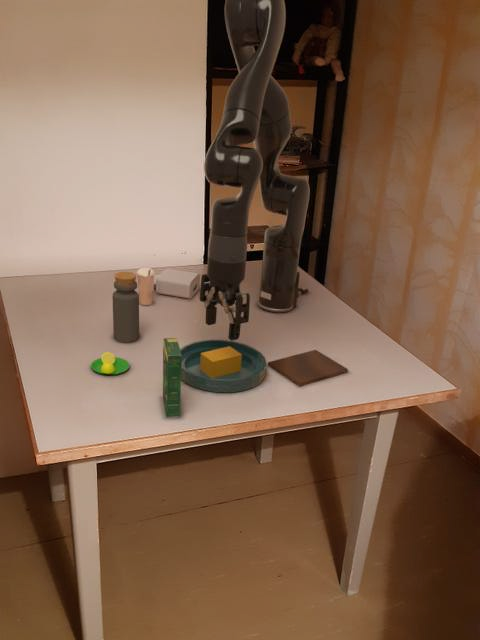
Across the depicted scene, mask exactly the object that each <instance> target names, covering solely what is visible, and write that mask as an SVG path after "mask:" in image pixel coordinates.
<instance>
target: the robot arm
mask: <svg viewBox="0 0 480 640" xmlns="http://www.w3.org/2000/svg"><path fill="white" fill-rule="evenodd" d="M286 14H287V12H286V2H285V0H225V3H224V21H225V28H226V32H227V37H228V40H229V44H230V47H231V51H232V54H233V57H234V61H235V64H236V67H237V71H238V74H237V75H236V76H235V78H234V79H233V81H232V82H231V83H230V86H229V88H228V90H227V93H226V96H225V99H224V105H223V112H222V118H221V122H220V124H219V125H220V126H219V128H218V130H217V132H216V135H215V136H214V138H213V141H212V142H211V144H210V145H209V147H208V150H207V152H206V154H205V157H204V162H203V172H204V176H205V178H206V180H207V181H208V183H210V184H212V185H214V186H219V187H229V188H237V189H238V188H239V189H240V192H239V193H238V194H237V195H235V196H231V197H222V198H217V199H216V200H214V202H213V203H212V206H211V220H210V234H209V238H208V247H207V265H206V267H207V268H206V273H204V274H201V277H200V288H199V289H200V290H199V301H200V302H201V303H202V302H203V305H204V307H205V324H206V326H214V325H215V324H216V323H217V315H218V314H217V313H218V307H217V305H220V306H221V307H222V308H223V311H224V313H225V314H227V316H228V320H229V325H228V336H227V338H228V340H229V341H237V340H239V338H240V337H241V328H242V327H241V325H242V324H246V323H249V320H250V303H251V302H250V300H251V295H250V293H249V292H245V293H244V292H241V289H240V286H241V283H242V282H243V281H245V277H246V265H247V253H248V225H249V218H250V217H249V216H250V211H251V204H252V202H253V201H252V200H253V198H254V194H255V192H256V189H257V186H258V184H259V189H260V190H259V191H260V197H261V202H262V205H263V207H264V209H265V210H266V211H268V212H270V213H273V214H277V215H280V216H281V215H282V216H286V217H285V222H284V224H279V225H273V226H270V227H267V228H266V229H265V231H264V239H263V251H262V262H261V270H260V271H261V272H260V283H259V291H258V292H259V293H258V301H257V306H258V308H260V309H262V310H264V311H266V312H272V313H287V312H290V311H292V310H293V309H294V308H297V301H298V299H299V294H300V293H302V294H306V293H309V289H308V288H305V289H303V288H302V287H299V284H300V275H301V273H300V271H298V268H299V261H300V252H301V244H302V238H303V234H304V230H305V226H306V225H305V224H306V219H307V214H308V212H307V211H308V208H309V203H310V195H311V189H310V187H311V186H310V183H309V181H308V180H307V179H306V178H303V177H300V176H294V175H289V174H285V173H282V172H281V170H280V166H279V158H280V156H281V153H282V152H283V150H284V148H285V147H286V145H287V143H288V141H289V139H290V137H291V134H292V130H293V122H292V121H293V120H292V113H291V107H290V101H289V98H288V95H287V94H286V92H285V90H284V88H283V87H282V86H281V85H280V83H279V82H278V81H277V80H276V79H275V78H274V77H273V76H272V73H273V70H274V68H275V65H276V62H277V58H278V54H279V51H280V49H281V45H282V42H283V38H284V34H285V29H286V23H287V22H286V21H287V15H286ZM256 46H257V48H255V47H256ZM255 49H256V50H255ZM251 143H253V146H254V147H249V146H244V145H248V144H251ZM206 292H207V294H206ZM234 305H235V306H234ZM234 313H235V315H234ZM242 313H243V314H242Z"/></svg>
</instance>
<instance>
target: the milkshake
mask: <svg viewBox="0 0 480 640" xmlns="http://www.w3.org/2000/svg"><path fill="white" fill-rule="evenodd" d="M155 274H156V272H155V270H154V269H153V268H150V267H141V268H139V269H138V270H136V279H137V288H138V294H139V305H142V306H151V305H152V304H153V302H154V290H155V289H154V287H155V285H154V279H155Z"/></svg>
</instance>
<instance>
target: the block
mask: <svg viewBox="0 0 480 640" xmlns="http://www.w3.org/2000/svg"><path fill="white" fill-rule="evenodd" d="M241 359H242V354H240V353H239V352H237V351H236V350H235V349H233V348H232V347H230V346H228V347H224V348H220V349H216V350H212V351H207V352H203V353H201V359H200V370H201V371H202V372H204V373H205V374H206V375H208V376H209V377H210V378H216V377H220V376H224V375H228V374H231V373H235V372H239V371H241Z"/></svg>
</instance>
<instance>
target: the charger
mask: <svg viewBox="0 0 480 640" xmlns="http://www.w3.org/2000/svg"><path fill="white" fill-rule="evenodd" d="M200 284H201V274H200V273H198V272H192V271H186V270H179V269H174V268H166V269H164V270H163V271H162V272H160V273H159V274H158V273H157V274H156V273H155V279H154V286H155V292H156V293H157V294H158V295H164V296H171V297H177V298H183V299H189V300H190V299H192V298H193V296H195V294H196V293H197V292H198V291H199V289H200Z"/></svg>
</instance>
